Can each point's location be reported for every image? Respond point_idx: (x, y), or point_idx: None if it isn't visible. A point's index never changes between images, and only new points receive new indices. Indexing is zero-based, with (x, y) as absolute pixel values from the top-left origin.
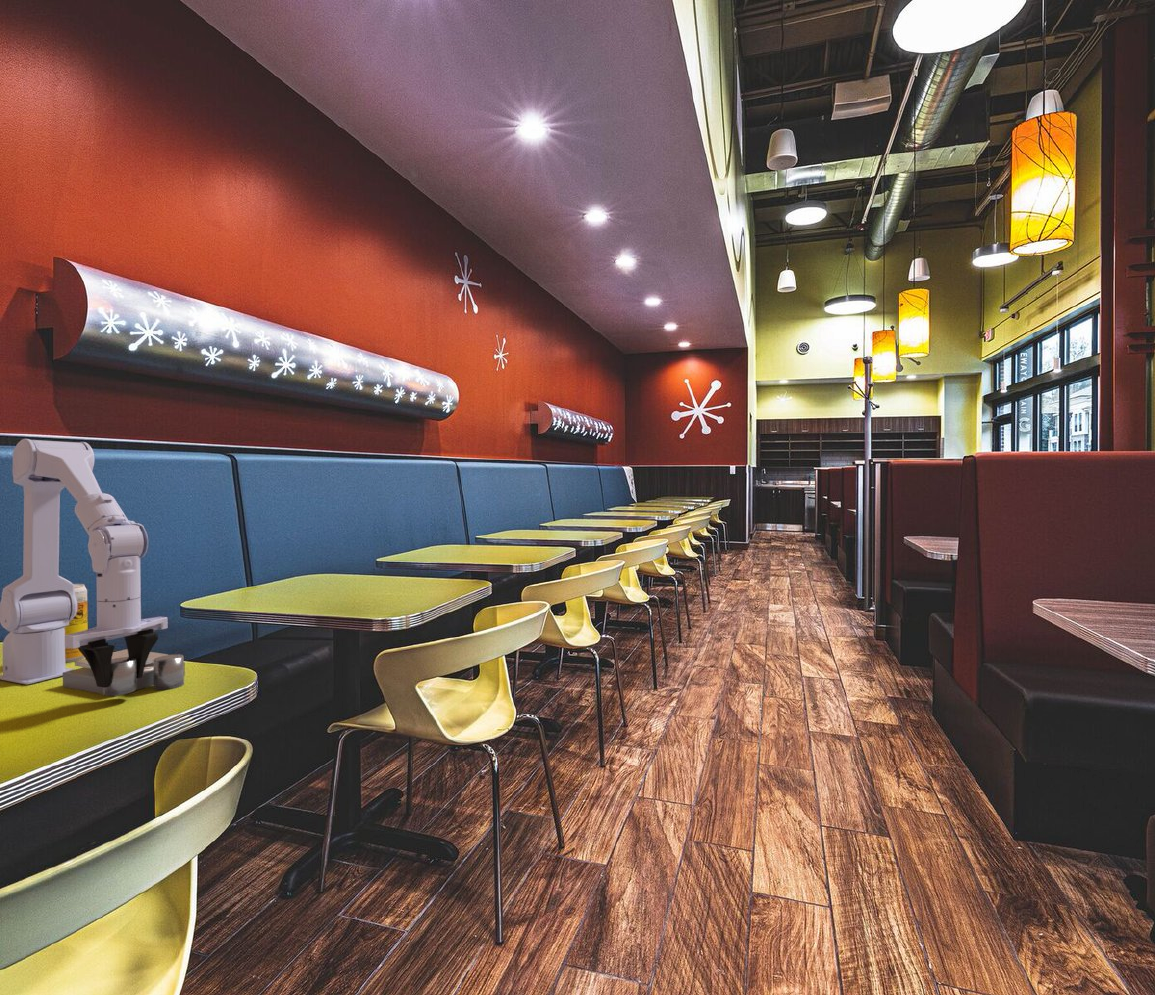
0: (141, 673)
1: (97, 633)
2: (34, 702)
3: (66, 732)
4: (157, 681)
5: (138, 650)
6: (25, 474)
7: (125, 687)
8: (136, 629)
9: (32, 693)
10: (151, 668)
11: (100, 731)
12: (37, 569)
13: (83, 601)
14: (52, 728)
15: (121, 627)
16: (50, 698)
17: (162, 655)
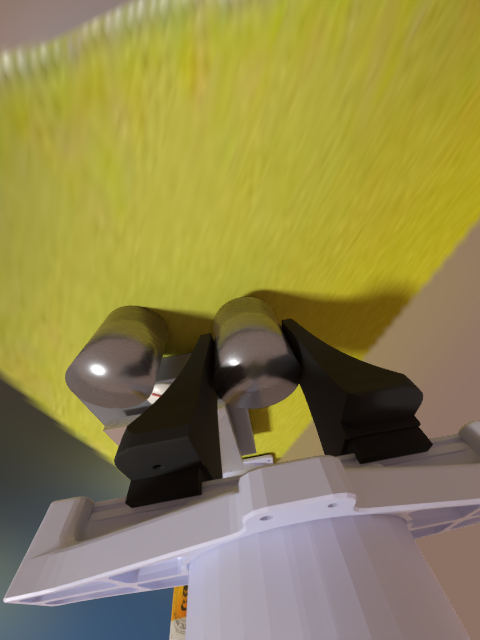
0: (202, 339)
1: (474, 491)
2: None
3: (414, 186)
4: (161, 334)
5: (206, 401)
6: None
7: (250, 304)
8: (289, 482)
9: (284, 428)
10: (154, 392)
11: (403, 91)
12: None
13: (179, 620)
14: (394, 247)
15: (364, 528)
16: (287, 399)
17: (116, 430)
